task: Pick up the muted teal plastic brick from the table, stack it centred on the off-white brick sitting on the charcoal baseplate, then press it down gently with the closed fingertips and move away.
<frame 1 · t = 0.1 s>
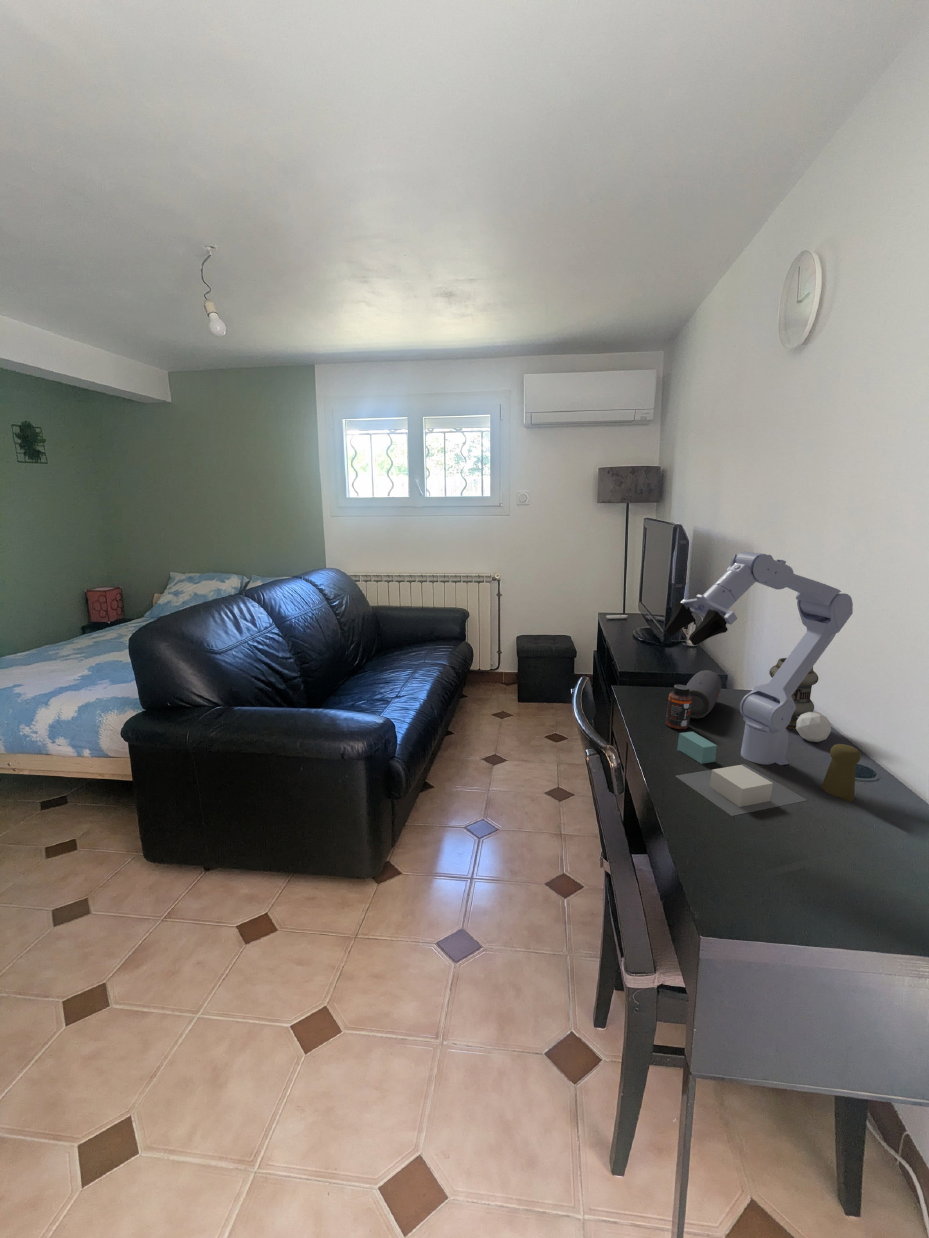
hand: (679, 637, 113), 32 cm above the table, tool tilted 50°, fingers open, 7 cm apart
cork: (836, 794, 115), on the table
geometric ball: (810, 740, 142), on the table
supplement bottle: (676, 726, 148), on the table
apothecary jar: (785, 722, 153), on the table
top brick: (695, 758, 129), on the table
base brick: (739, 793, 112), point 1 cm above the table, touching baseplate
baseplate: (738, 790, 115), on the table
bluetooth speaker: (699, 710, 160), on the table
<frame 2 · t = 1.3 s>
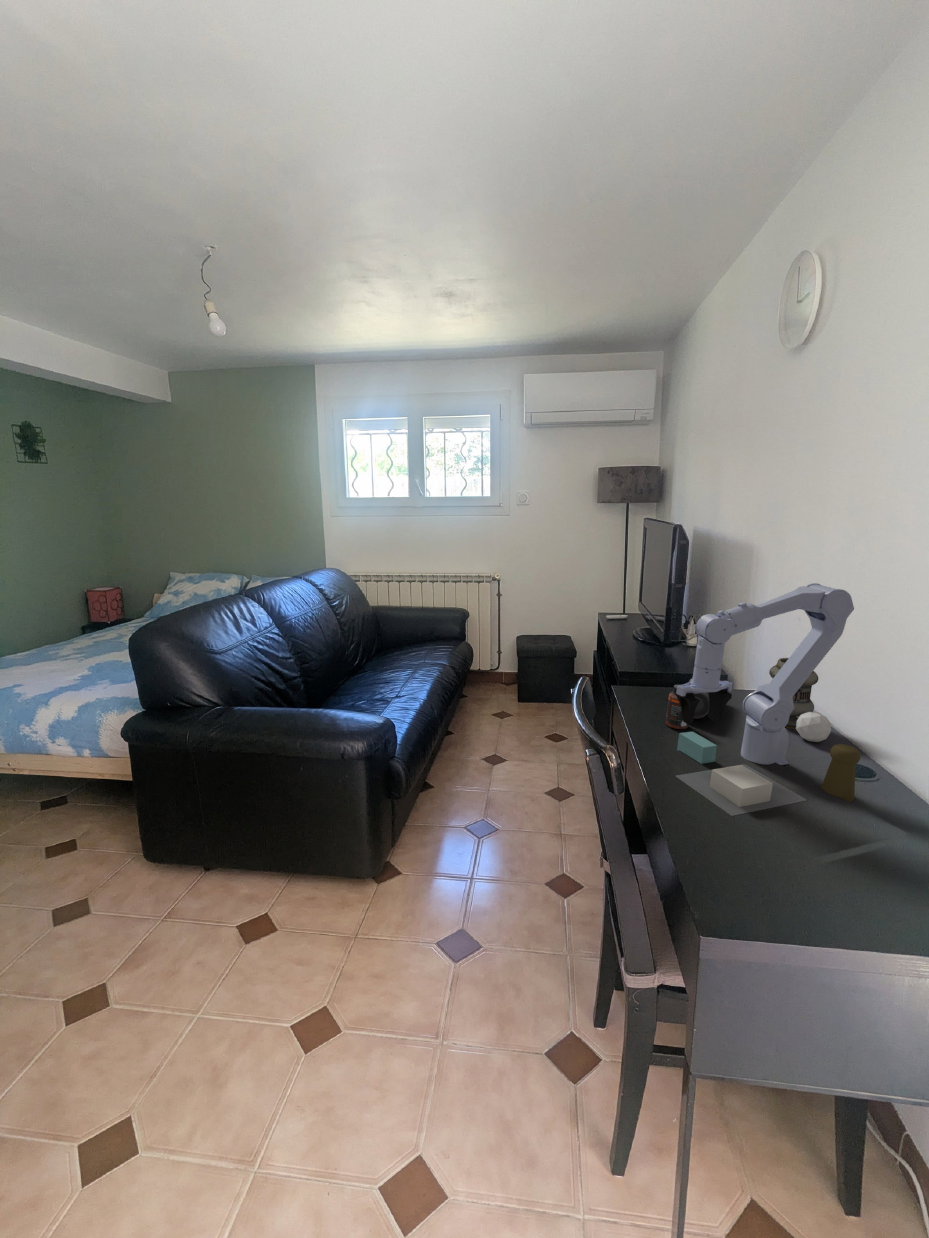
hand: (700, 721, 127), 9 cm above the table, tool pointing down, fingers open, 7 cm apart
nothing on the table moved.
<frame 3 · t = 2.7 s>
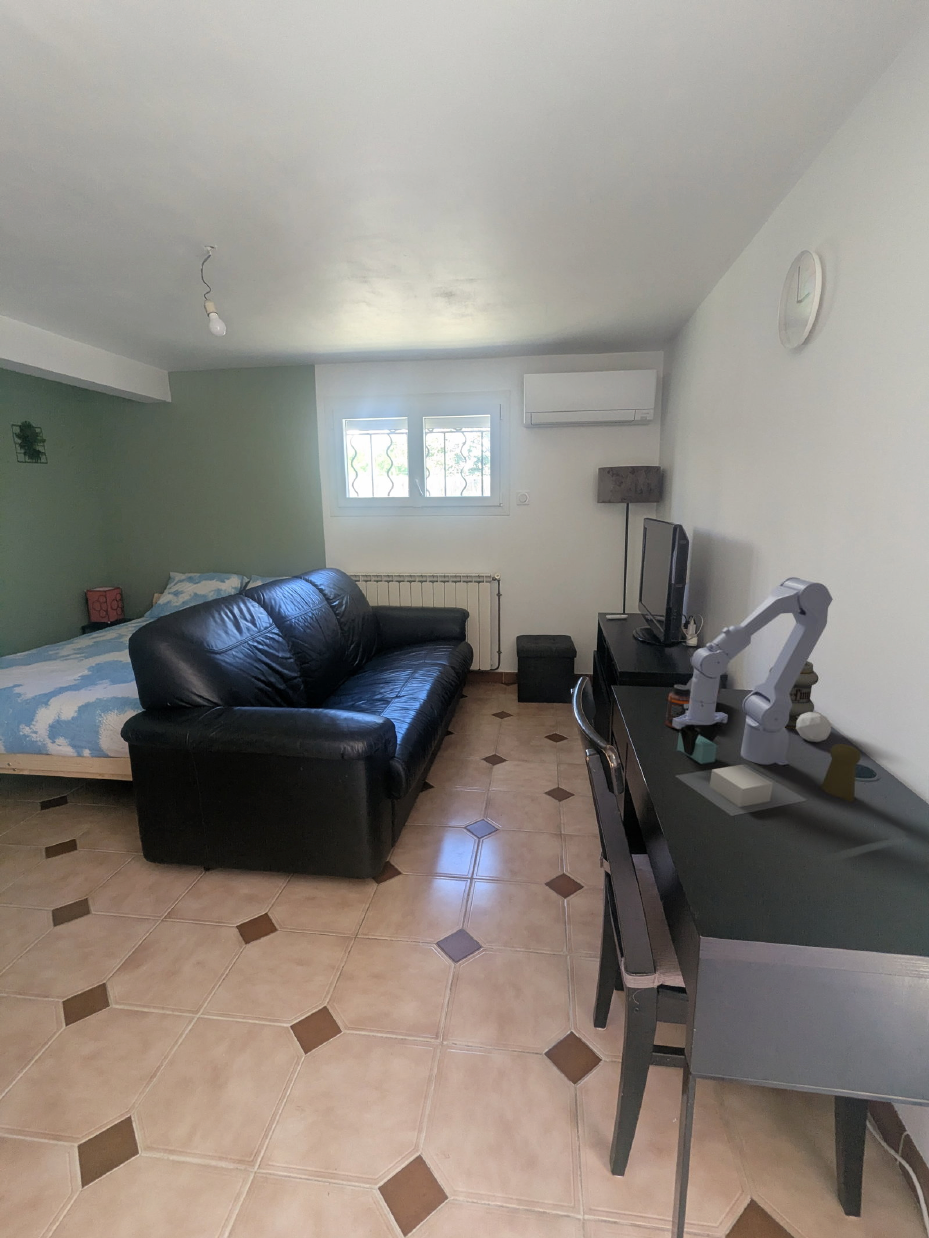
hand: (695, 752, 129), 1 cm above the table, tool pointing down, fingers closed on top brick, 4 cm apart
top brick: (695, 757, 129), on the table, touching gripper
everything else where it was.
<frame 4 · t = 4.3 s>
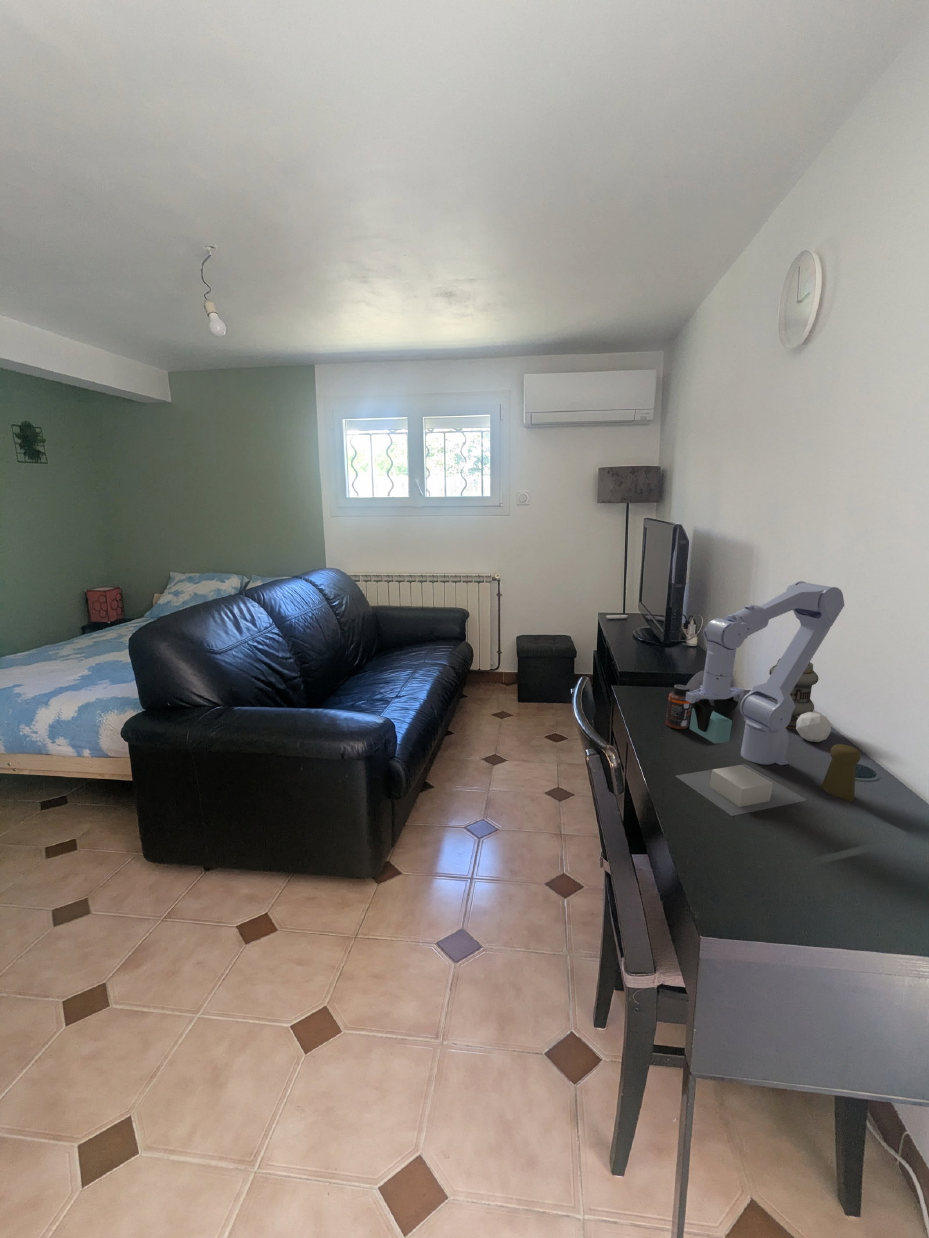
hand: (710, 729, 123), 9 cm above the table, tool pointing down, fingers closed on top brick, 4 cm apart
top brick: (708, 735, 123), point 8 cm above the table, touching gripper
everything else where it was.
when the fingers open (7 cm above the table, at t = 5.8 s): top brick stays where it is, resting on base brick.
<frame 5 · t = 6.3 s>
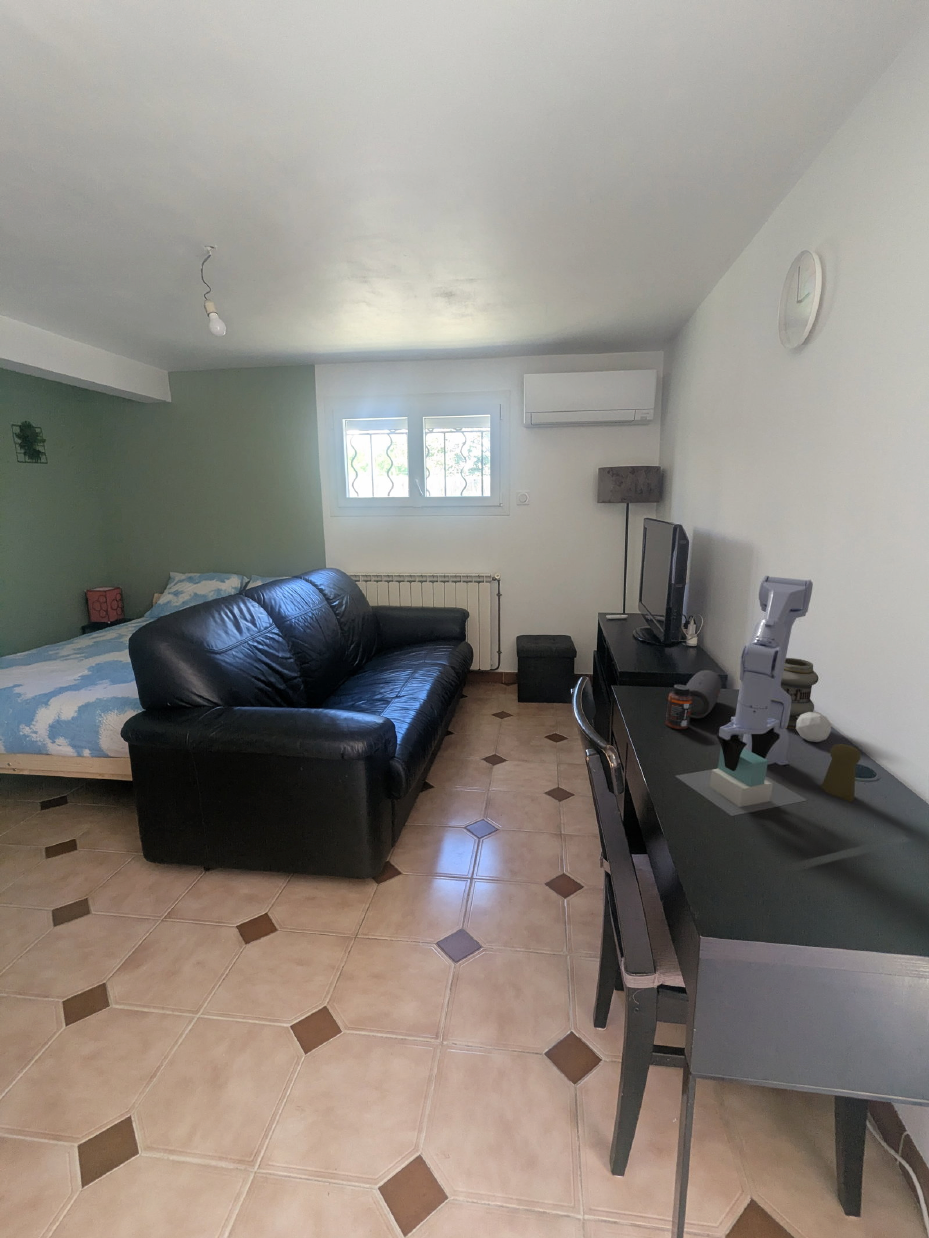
hand: (743, 765, 111), 7 cm above the table, tool pointing down, fingers open, 7 cm apart
top brick: (740, 775, 112), point 5 cm above the table, touching base brick
base brick: (739, 793, 112), point 1 cm above the table, touching baseplate, top brick
everything else where it was.
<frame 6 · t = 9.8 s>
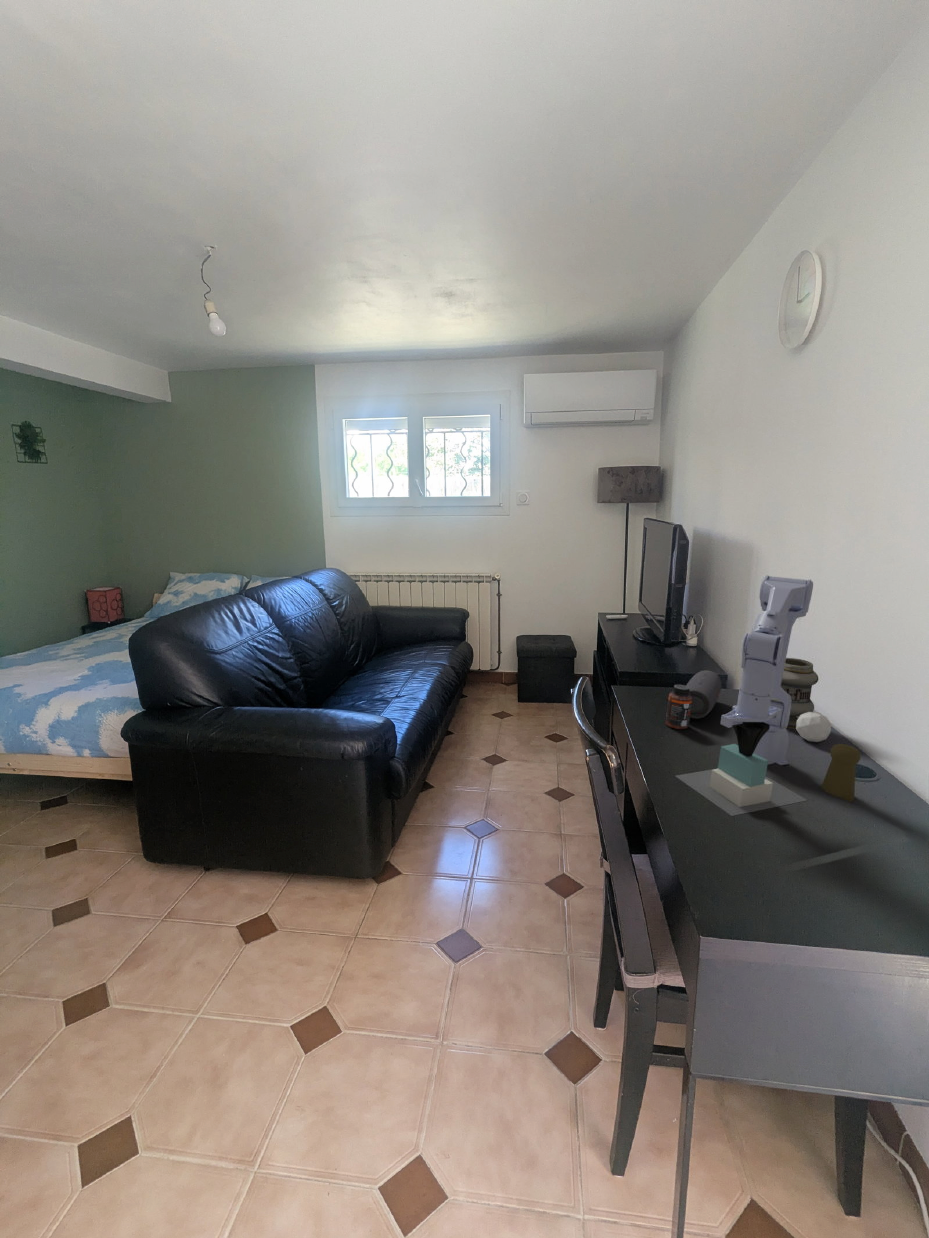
hand: (745, 754, 110), 10 cm above the table, tool pointing down, fingers closed, pressing on top brick
top brick: (740, 775, 112), point 5 cm above the table, touching base brick, gripper
everything else where it was.
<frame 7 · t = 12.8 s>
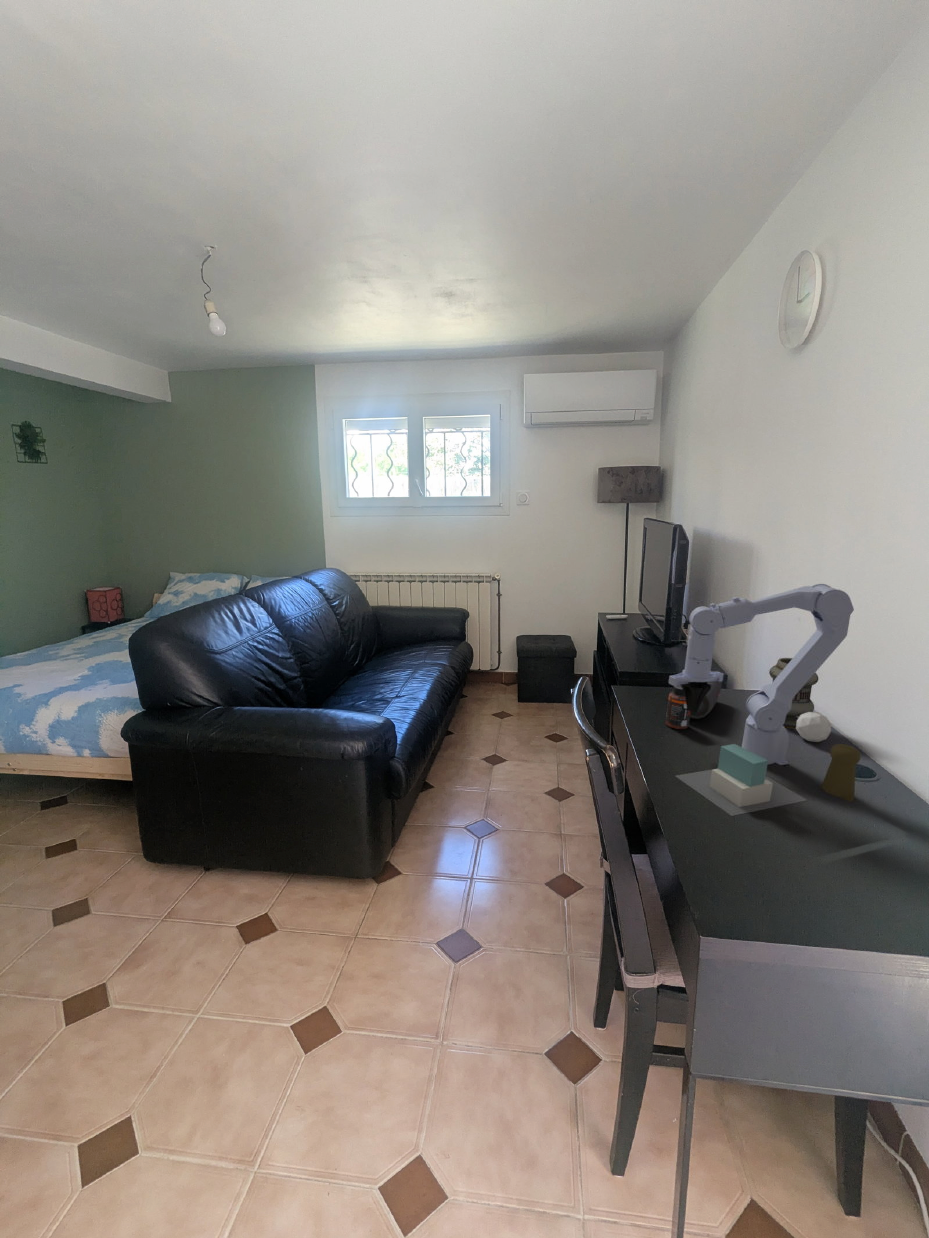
hand: (692, 710, 131), 10 cm above the table, tool pointing down, fingers closed
top brick: (740, 775, 112), point 5 cm above the table, touching base brick
everything else where it was.
at the end: top brick 0.4 cm off-centre on the base brick, point 4.0 cm above the base brick's base; top brick tilted 0°; the gripper is holding nothing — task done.
